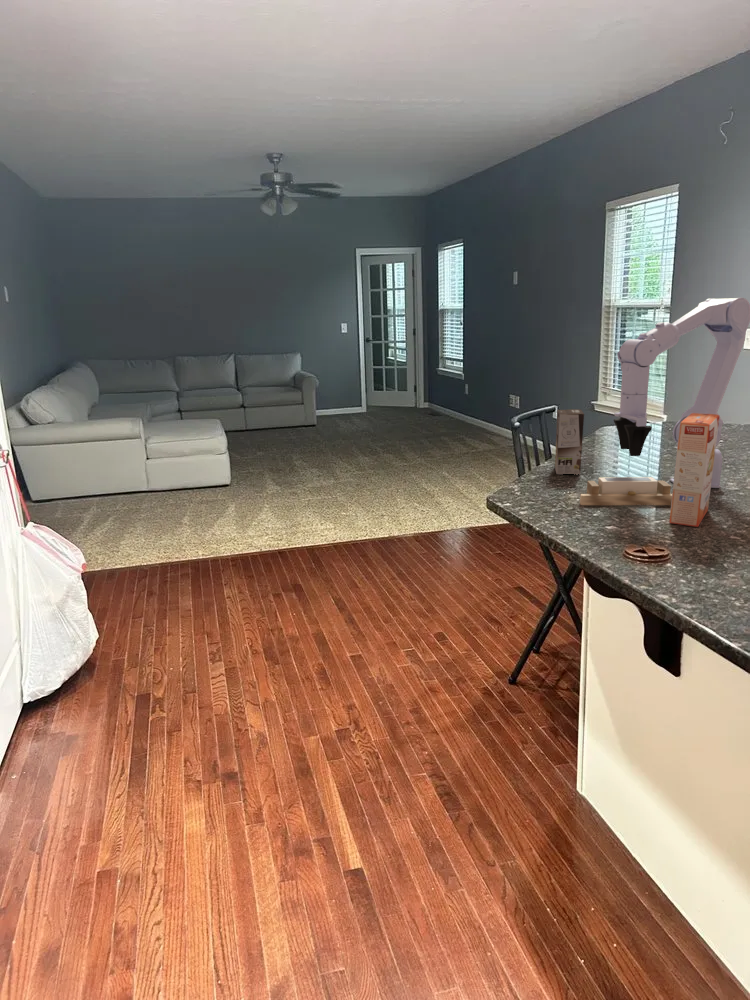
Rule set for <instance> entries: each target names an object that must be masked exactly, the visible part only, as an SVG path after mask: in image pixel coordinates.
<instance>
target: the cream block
mask: <svg viewBox="0 0 750 1000" xmlns="http://www.w3.org/2000/svg"><path fill="white" fill-rule="evenodd" d="M658 481H659V480H656V478H654V477H653V476H639V477H638V476H627V477H626V476H625V477H623V476H622V477H621V476H618V477H617V476H616V477H613V476H611V477H598V481H597V484H598V485H599V494H628V492H629V491H634V492H636V494H657V484H658Z"/></svg>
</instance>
